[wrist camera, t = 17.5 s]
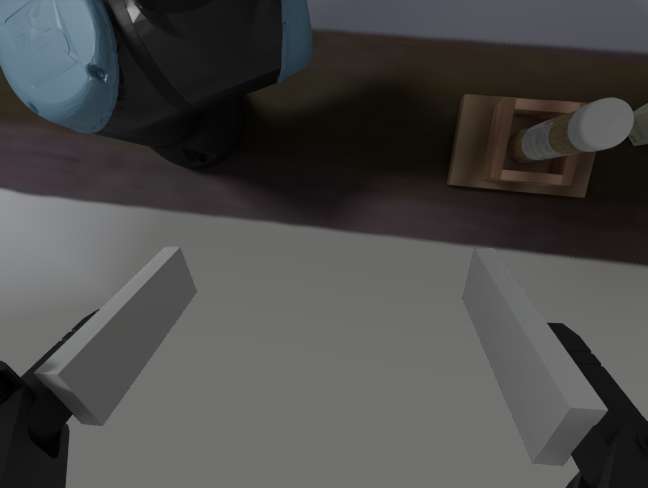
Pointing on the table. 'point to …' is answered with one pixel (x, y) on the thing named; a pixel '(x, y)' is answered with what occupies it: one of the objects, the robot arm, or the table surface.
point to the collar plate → (493, 148)
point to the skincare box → (640, 126)
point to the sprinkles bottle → (575, 132)
